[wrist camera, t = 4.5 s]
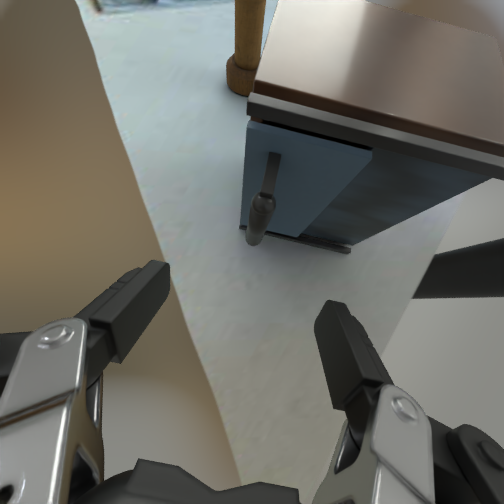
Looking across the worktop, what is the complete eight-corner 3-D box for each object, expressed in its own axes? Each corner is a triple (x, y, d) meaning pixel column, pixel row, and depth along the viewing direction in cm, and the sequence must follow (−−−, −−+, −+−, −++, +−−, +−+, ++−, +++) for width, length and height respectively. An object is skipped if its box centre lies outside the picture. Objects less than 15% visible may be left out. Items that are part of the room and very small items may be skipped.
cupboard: (352, 183, 28) (496, 36, 13) (347, 254, 25) (533, 175, 9) (256, 159, 27) (284, -23, 12) (239, 228, 24) (247, 101, 9)
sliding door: (297, 233, 23) (372, 151, 11) (292, 266, 22) (370, 218, 9) (241, 219, 23) (248, 119, 10) (232, 252, 22) (230, 184, 9)
